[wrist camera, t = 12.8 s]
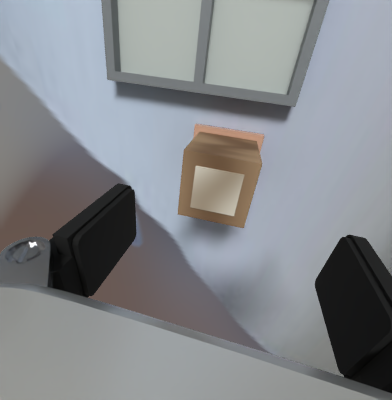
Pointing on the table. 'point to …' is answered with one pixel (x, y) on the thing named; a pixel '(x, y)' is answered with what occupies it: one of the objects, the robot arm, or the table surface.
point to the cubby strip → (214, 45)
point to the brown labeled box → (219, 178)
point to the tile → (230, 133)
